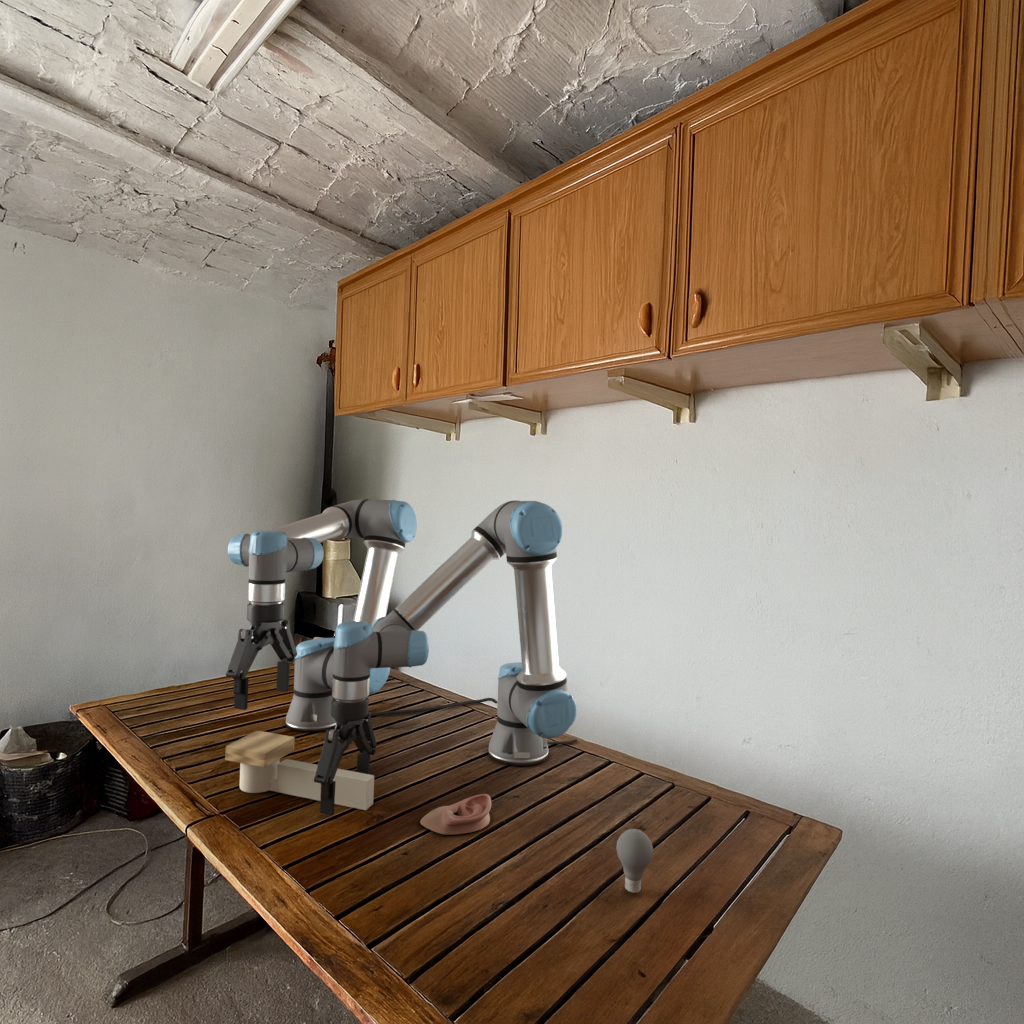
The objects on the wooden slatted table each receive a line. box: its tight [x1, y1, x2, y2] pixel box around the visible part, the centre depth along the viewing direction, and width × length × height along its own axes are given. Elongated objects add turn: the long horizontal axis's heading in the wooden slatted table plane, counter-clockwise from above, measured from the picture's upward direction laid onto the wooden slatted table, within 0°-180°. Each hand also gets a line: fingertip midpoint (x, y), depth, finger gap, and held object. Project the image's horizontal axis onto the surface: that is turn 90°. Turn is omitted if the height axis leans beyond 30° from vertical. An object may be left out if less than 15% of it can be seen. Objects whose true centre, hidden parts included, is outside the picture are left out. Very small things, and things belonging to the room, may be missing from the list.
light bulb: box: [615, 828, 654, 894], centre depth 106 cm, size 6×6×10 cm
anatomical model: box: [419, 793, 492, 836], centre depth 126 cm, size 13×4×12 cm
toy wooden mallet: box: [239, 758, 375, 811], centre depth 135 cm, size 31×8×8 cm, turn 73°
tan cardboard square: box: [224, 730, 296, 768], centre depth 138 cm, size 10×10×3 cm
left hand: (262, 699), depth 138 cm, fingers open, 13 cm apart
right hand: (345, 798), depth 132 cm, fingers open, 13 cm apart
